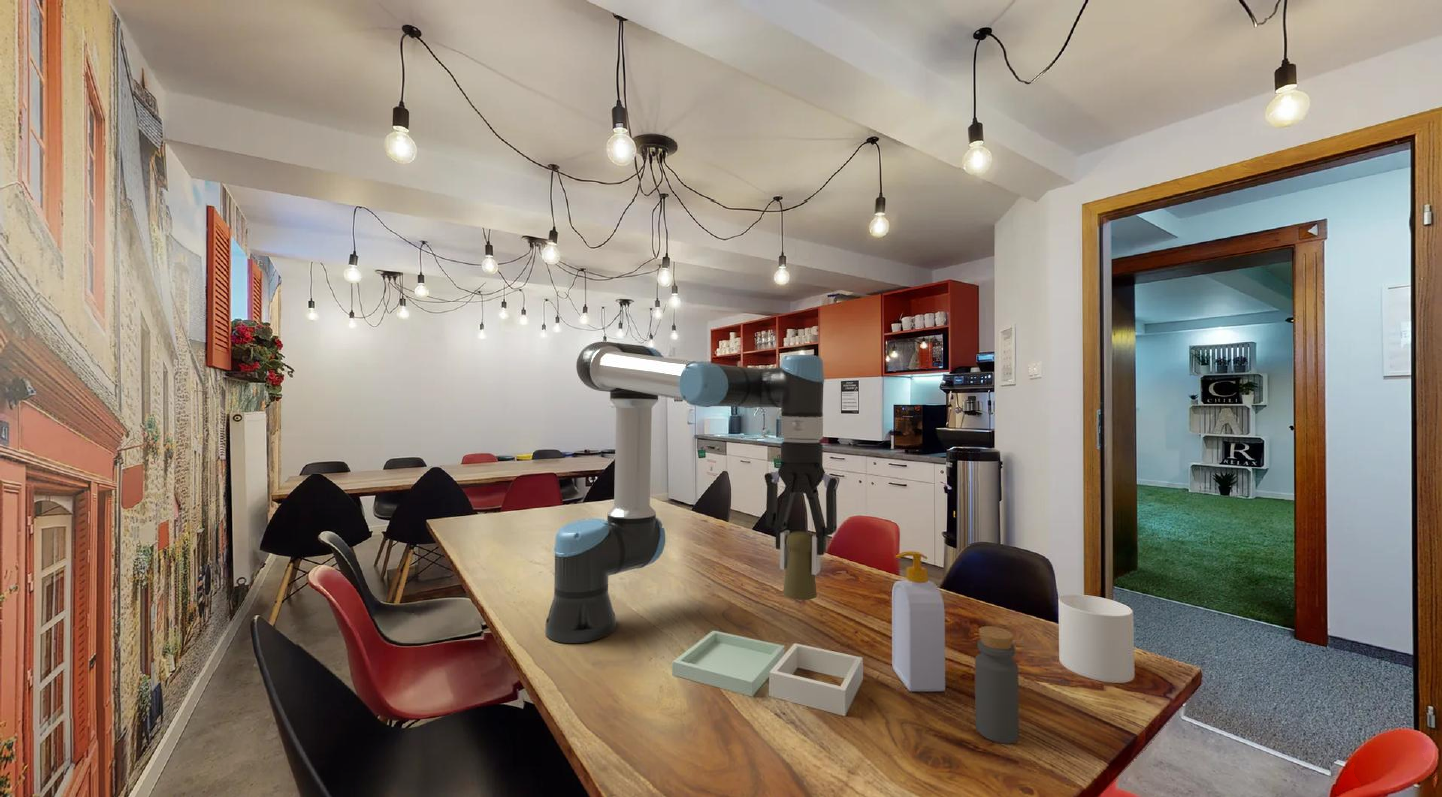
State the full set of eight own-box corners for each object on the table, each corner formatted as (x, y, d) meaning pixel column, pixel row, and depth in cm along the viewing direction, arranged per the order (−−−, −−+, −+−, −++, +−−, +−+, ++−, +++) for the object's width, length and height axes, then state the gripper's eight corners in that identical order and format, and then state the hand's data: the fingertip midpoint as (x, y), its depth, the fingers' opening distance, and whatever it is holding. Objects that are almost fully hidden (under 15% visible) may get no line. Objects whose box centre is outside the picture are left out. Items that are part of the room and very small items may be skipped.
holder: (769, 695, 90) (769, 672, 90) (794, 664, 102) (794, 642, 102) (845, 716, 84) (845, 690, 84) (862, 679, 96) (862, 657, 96)
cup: (1067, 648, 109) (1066, 590, 110) (1139, 668, 101) (1137, 604, 101) (1052, 667, 101) (1051, 604, 101) (1128, 690, 93) (1127, 621, 93)
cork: (816, 601, 91) (817, 537, 92) (781, 598, 93) (782, 535, 93) (817, 589, 97) (817, 529, 98) (784, 586, 99) (785, 527, 99)
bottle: (967, 721, 83) (967, 624, 83) (1003, 720, 83) (1002, 623, 84) (989, 744, 77) (988, 640, 77) (1027, 743, 77) (1026, 639, 78)
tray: (672, 674, 97) (672, 661, 97) (713, 641, 111) (713, 630, 111) (752, 696, 90) (752, 682, 90) (784, 658, 104) (784, 645, 104)
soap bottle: (887, 668, 100) (887, 546, 101) (924, 667, 100) (923, 546, 101) (905, 693, 91) (905, 559, 92) (945, 692, 91) (944, 559, 92)
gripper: (747, 439, 96) (745, 567, 96) (847, 444, 88) (845, 584, 88) (762, 437, 103) (761, 557, 103) (857, 441, 95) (855, 572, 94)
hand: (799, 569), depth 95 cm, fingers closed on cork, 5 cm apart
